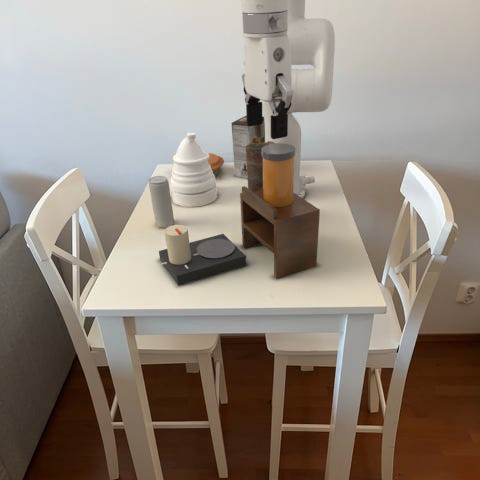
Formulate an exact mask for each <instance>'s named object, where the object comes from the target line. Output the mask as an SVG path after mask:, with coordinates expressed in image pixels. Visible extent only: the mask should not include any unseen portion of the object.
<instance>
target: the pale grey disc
mask: <svg viewBox="0 0 480 480" xmlns="http://www.w3.org/2000/svg"><path fill="white" fill-rule="evenodd" d="M229 240H230V239H229ZM229 240H225V239H212V240H207V241H205V242H203V243H201V244H200V245H199V246H198V247H197V253H198V254H199V255H200V256H201V257H204V258H207V259H220V258H224V257H227V256H229V255H231V254H232V253H233V252H234V251H235V246H236V244H235V243H234V242H233V241H232V240H230V241H229Z"/></svg>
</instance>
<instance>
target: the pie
mask: <svg viewBox="0 0 480 480" xmlns="http://www.w3.org/2000/svg"><path fill="white" fill-rule="evenodd" d="M208 153H209V156H210V157H209V159H208V163H209V164H210V166H211V169H212V171H213V174H214V175H215V177H216V176H217V175H218V174H219V172H220V170H221V168H222V167H223V166H224V164H225V160H224V158H223V157H222V156H220V155H217V154H215V153H212V152H211V153H210V152H208Z"/></svg>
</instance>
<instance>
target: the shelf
mask: <svg viewBox="0 0 480 480" xmlns="http://www.w3.org/2000/svg"><path fill="white" fill-rule="evenodd" d="M239 202H240V219H241V220H240V222H241V241H242V248H243V249H248V248H251V247H254V246H259V245H263V246H264V247H266V248H267V249H268V250H269V251H270V252H271V253H272V254H273V277H274V278H275V279H276V280H277V279H281V278H284V277H286V276H289V275H293V274H296V273H299V272H302V271H305V270H309V269H312V268H314V267H317V262H318V248H319V247H318V245H319V229H320V228H319V227H320V213H321V212H320V211H321V210H320V208H318V207H317V206H315V205H313V203H311V202H309V201H307V200H306V199H304V197H303V198H301V197H300V196H298V195H297V194H295V193H293V202H292V203H291V204H290V205H288V206H284V207H273V206H271V205H270V204H269V203H267V202H266V201H264V200H263V188H260V189H256V190H250V189H248V186H245V185H243V186H241V192H240V193H239Z"/></svg>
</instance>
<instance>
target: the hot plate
mask: <svg viewBox="0 0 480 480" xmlns="http://www.w3.org/2000/svg"><path fill="white" fill-rule="evenodd" d="M212 239H225V240H229V241H231V240H230V239H229V237H227V236H226V235H225V234H224V233H220V234H217V235H212V236H210V237H205V238H201V239H197V240H194V241H191V242H190V241H189V244H190V252H191V260H190V261H189V262H188V263H185V264H181V265H176V264H172V263H171V262H170V261H169V256H168V250H167V248H164V249H161V250H158V256H159V261H160V262H161V263H160V266H162V265H163V266H164V268H165V269H166V271H167V272H168V274H169V276H171V278H172V279H173V281H174V282H175V283H176V285H177V286H179V287H180V286H183V285H187V284H189V283H193V282H196V281H199V280H200V281H201V280H202V279H203V280H204V279H206V278H209V277H213V276H216V275H220V274H223V273H226V272H229V271H233V270H236V269H239V268H243V267H247V255H246V254H245V253H244V251H242V250H241V249H240V248H238V246H237V245H235V251H234V252H233V253H232V254H231V255H229V256H227V257H224V258H220V259H207V258H204V257H201V256H200V255H199V254H198V253H197V247H198V246H199V245H200V244H201V243H203V242H205V241H207V240H212Z"/></svg>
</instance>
